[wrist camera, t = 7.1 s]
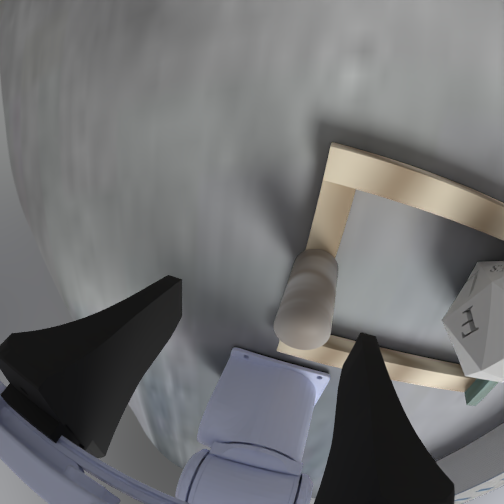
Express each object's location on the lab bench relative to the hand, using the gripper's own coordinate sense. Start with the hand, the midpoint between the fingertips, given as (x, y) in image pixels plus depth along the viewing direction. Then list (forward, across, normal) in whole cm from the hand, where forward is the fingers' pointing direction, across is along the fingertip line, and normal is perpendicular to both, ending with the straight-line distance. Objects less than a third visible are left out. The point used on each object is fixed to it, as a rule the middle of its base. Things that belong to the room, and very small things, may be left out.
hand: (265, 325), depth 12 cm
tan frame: (+10, -10, +3) cm, 15 cm away
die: (+10, -15, +1) cm, 19 cm away
